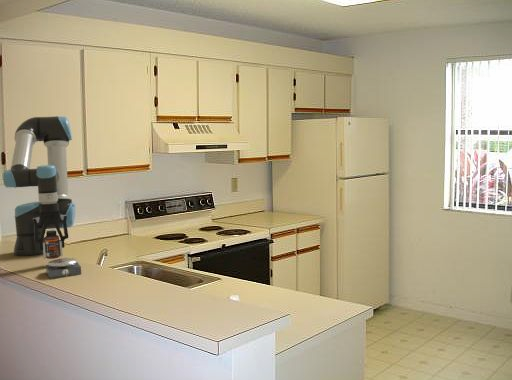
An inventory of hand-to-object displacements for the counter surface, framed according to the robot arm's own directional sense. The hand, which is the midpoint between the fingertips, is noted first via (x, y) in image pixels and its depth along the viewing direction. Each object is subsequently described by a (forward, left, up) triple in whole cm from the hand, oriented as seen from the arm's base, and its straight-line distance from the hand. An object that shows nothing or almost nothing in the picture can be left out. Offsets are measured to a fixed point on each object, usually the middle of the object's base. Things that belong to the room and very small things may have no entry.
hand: (53, 256), depth 243 cm
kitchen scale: (+17, +2, -4) cm, 17 cm away
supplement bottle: (0, 0, -1) cm, 1 cm away
